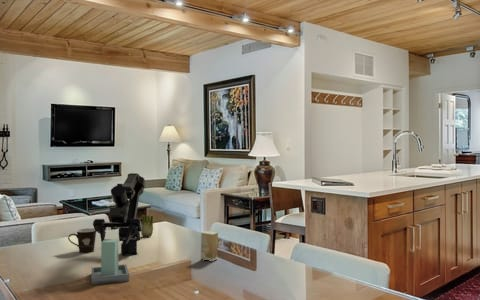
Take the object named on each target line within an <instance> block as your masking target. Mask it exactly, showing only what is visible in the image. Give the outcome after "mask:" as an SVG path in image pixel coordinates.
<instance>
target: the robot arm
mask: <svg viewBox="0 0 480 300" xmlns="http://www.w3.org/2000/svg"><path fill="white" fill-rule="evenodd" d="M145 188H146V179H145V178H144V177H142V175H141V176H140V173H137V172H136V173H135V172H134V173H133V172H130V173H128V174H127V177H126V179H125V180H124V182H123V183H117V184H116V185H115V186H113V187H112V188H111V189H110V193H111V198H112V201H113V204H114V203H115V204H114V207H110V208H109V212H108V216H109V222H108V221H107V222H106V221H105V219H104V218H95V219H94V220H93V221H92V227H93V229H95V231H96V233H98V234H99V237H100V241H101V242H102V241H103V240H105V239H106V233H107V232H106V230H107V228H119V229H118V242H122V243H120V254H122V256H134V255H138V250H137V249H138V243H137V242H138V241H141V231H142V219H140V218H137V214H138V207H139V201H140V196H141V195H143V193H144V191H145ZM110 221H111V222H110ZM101 242H100V243H101Z"/></svg>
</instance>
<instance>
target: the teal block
mask: <svg viewBox="0 0 480 300" xmlns="http://www.w3.org/2000/svg"><path fill="white" fill-rule="evenodd" d="M100 247H101V248H100V249H101V250H100V251H101V252H100V255H101V256H100V260H101V261H100V267H101V276H110V275H117V274H118V265H119V238H105V239H104V240H103V241H102V242H100Z"/></svg>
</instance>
